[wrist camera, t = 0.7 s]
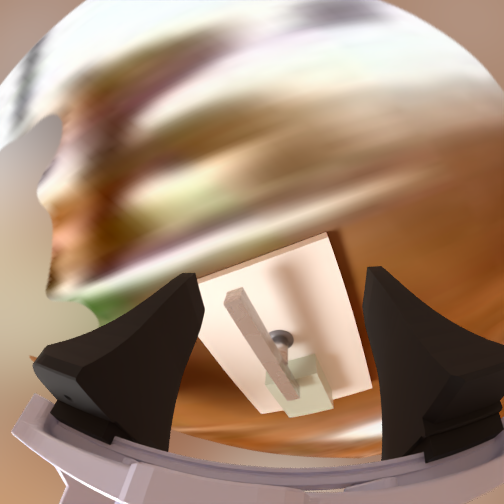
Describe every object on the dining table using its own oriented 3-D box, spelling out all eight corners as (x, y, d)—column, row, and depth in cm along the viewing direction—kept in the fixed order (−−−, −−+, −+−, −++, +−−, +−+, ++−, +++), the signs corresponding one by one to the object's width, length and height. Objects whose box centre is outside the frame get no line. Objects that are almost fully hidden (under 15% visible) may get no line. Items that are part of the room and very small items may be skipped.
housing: (261, 407, 31) (261, 414, 30) (172, 288, 24) (168, 295, 23) (370, 381, 27) (372, 388, 26) (326, 231, 20) (328, 237, 19)
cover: (289, 400, 28) (289, 417, 26) (266, 365, 26) (264, 385, 24) (331, 390, 27) (333, 408, 25) (315, 353, 24) (316, 373, 22)
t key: (286, 369, 26) (285, 401, 22) (230, 273, 21) (220, 304, 18) (301, 365, 25) (302, 398, 22) (249, 266, 21) (242, 297, 17)
